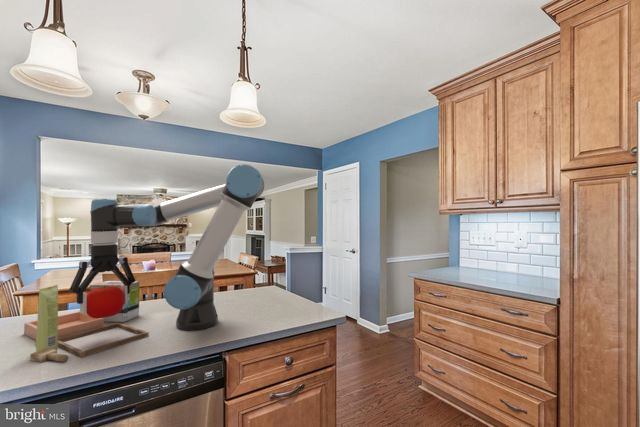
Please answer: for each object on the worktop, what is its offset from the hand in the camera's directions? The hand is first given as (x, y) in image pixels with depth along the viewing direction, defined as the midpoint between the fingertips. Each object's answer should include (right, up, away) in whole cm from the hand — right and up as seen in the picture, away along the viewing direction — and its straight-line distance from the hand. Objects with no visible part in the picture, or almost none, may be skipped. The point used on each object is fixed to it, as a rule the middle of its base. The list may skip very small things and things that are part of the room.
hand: (104, 308), depth 103 cm
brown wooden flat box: (-19, -10, +7) cm, 23 cm away
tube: (-11, -10, -9) cm, 18 cm away
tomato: (0, -3, 0) cm, 3 cm away
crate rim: (-1, -10, 0) cm, 10 cm away
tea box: (-12, -11, +22) cm, 28 cm away
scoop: (-5, -10, -15) cm, 19 cm away
